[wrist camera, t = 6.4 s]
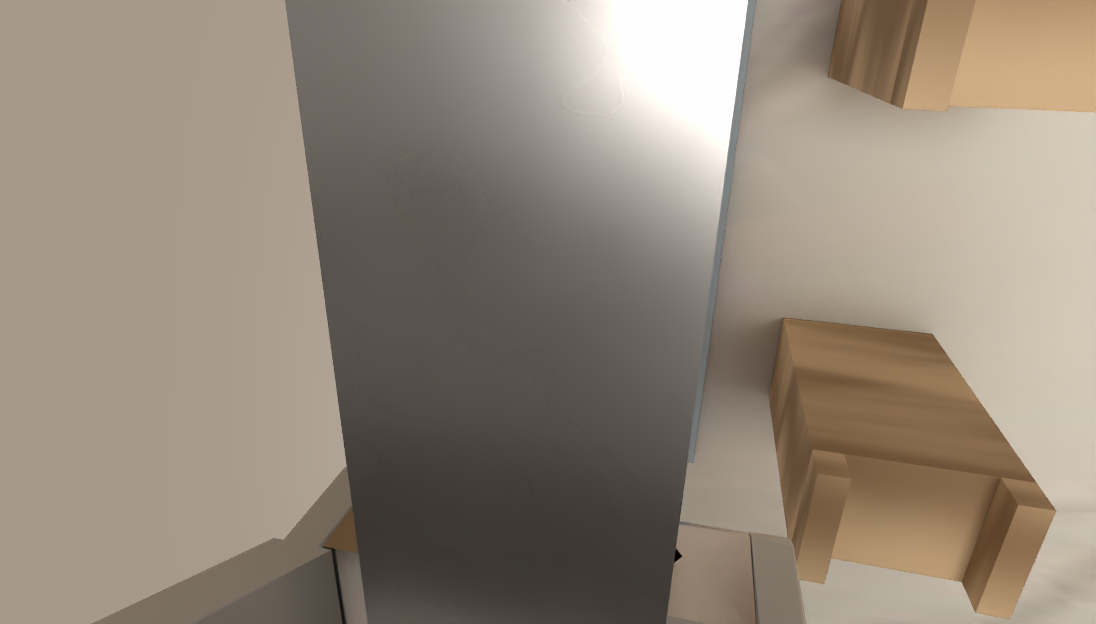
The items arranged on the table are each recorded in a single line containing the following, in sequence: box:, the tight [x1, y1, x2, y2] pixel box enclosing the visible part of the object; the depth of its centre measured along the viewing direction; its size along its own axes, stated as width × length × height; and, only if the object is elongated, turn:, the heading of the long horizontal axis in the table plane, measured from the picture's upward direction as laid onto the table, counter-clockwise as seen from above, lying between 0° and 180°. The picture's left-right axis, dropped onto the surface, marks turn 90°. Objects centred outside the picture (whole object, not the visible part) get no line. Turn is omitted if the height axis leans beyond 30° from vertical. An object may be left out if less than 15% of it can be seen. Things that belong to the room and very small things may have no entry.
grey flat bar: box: [687, 0, 756, 463], centre depth 27 cm, size 26×5×1 cm, turn 178°
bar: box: [285, 0, 748, 624], centre depth 8 cm, size 22×3×4 cm, turn 178°
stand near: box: [828, 0, 1096, 112], centre depth 18 cm, size 4×6×11 cm, turn 88°
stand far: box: [769, 318, 1056, 619], centre depth 24 cm, size 4×6×11 cm, turn 88°
